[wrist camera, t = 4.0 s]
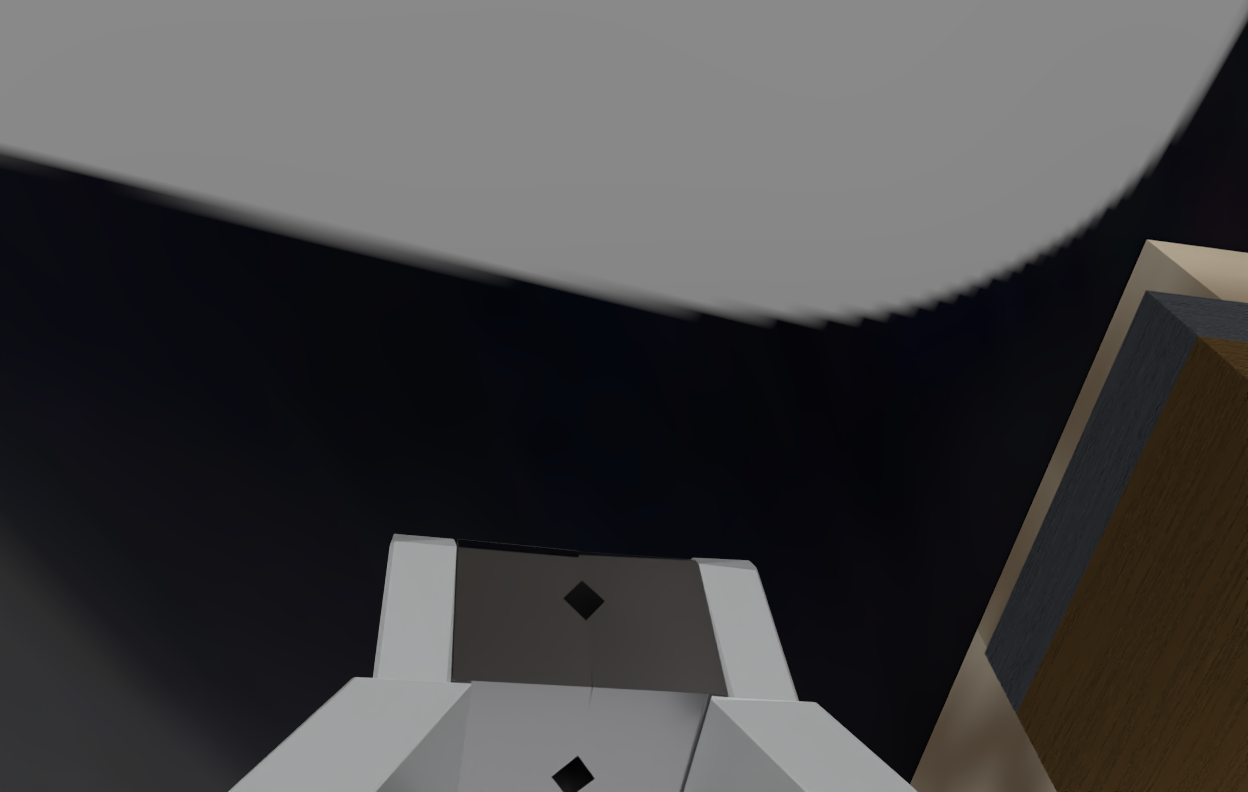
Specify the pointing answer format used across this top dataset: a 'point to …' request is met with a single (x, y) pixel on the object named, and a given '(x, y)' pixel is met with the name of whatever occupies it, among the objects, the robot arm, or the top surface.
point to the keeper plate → (1144, 571)
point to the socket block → (977, 705)
